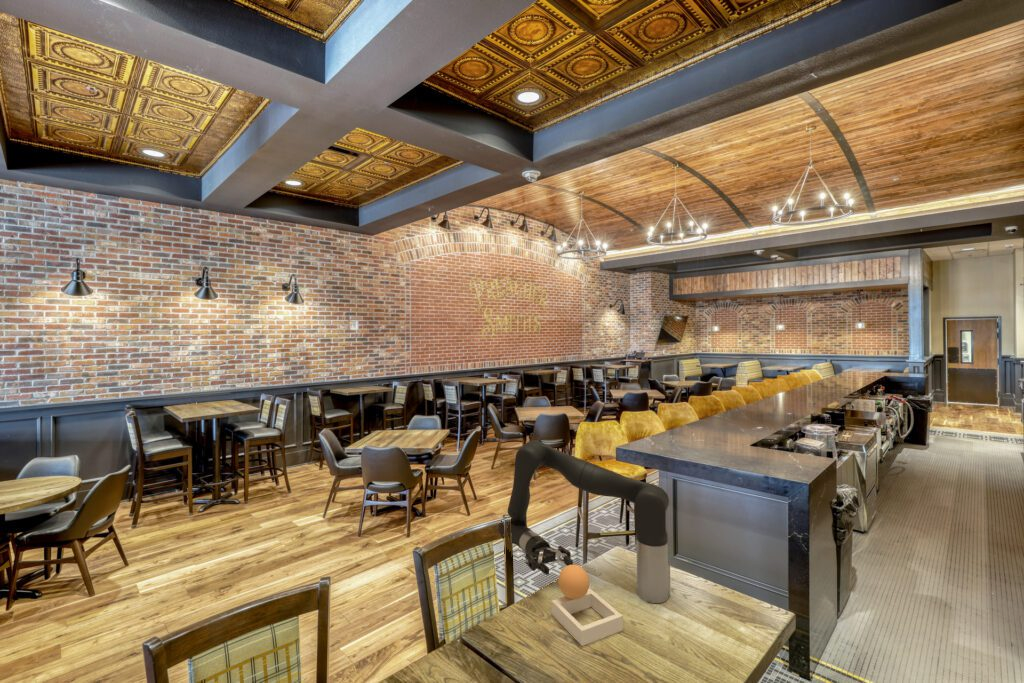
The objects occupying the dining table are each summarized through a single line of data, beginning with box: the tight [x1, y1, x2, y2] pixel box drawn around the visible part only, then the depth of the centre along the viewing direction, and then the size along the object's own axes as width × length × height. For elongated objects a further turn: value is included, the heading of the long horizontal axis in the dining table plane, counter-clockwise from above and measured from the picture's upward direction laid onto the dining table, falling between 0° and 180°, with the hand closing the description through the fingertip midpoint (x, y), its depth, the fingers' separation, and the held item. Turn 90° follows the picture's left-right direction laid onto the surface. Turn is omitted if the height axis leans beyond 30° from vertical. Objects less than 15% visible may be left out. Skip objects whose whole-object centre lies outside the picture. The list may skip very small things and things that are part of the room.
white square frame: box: [551, 587, 624, 647], centre depth 127 cm, size 14×15×4 cm
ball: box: [557, 564, 590, 599], centre depth 132 cm, size 9×9×9 cm
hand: (560, 568), depth 138 cm, fingers open, 8 cm apart
